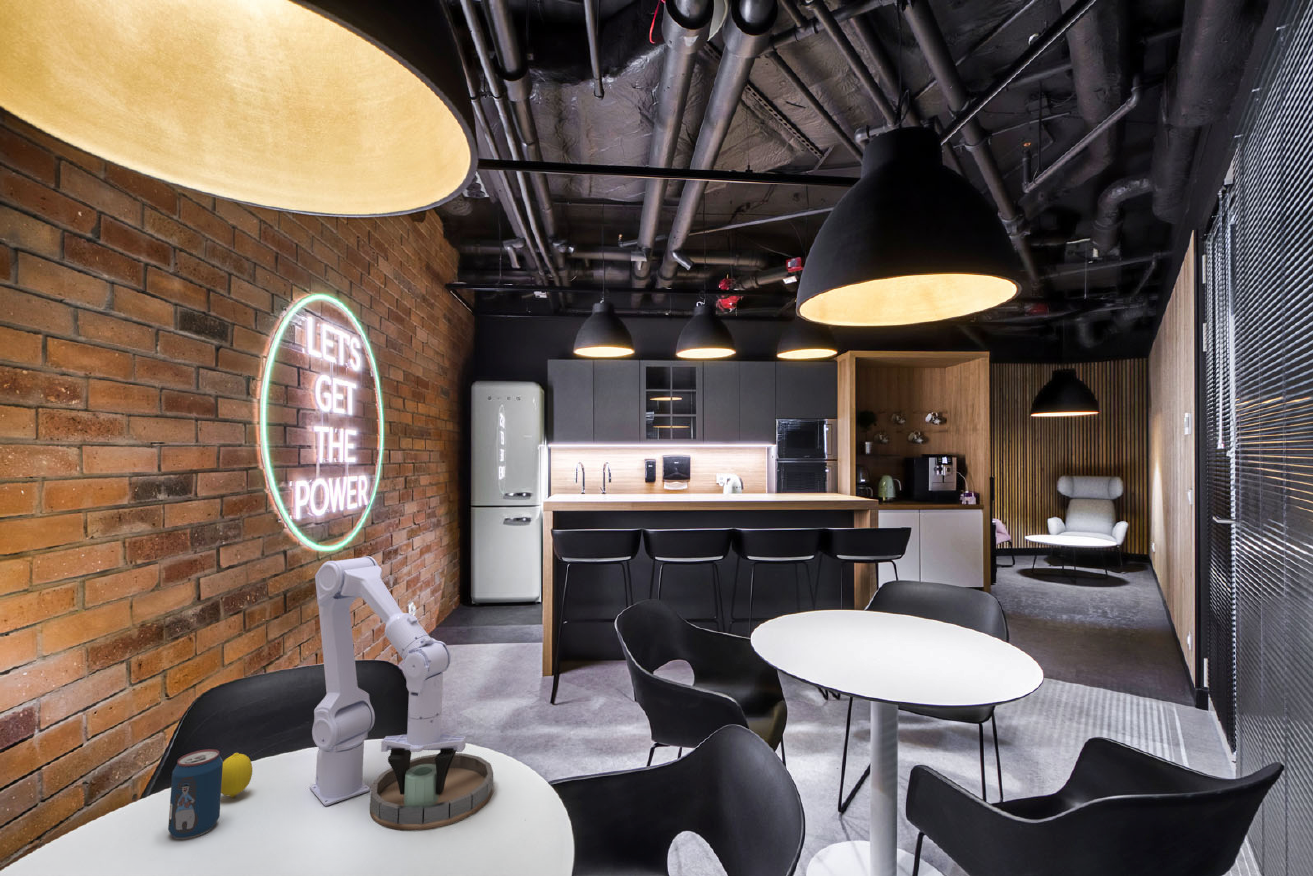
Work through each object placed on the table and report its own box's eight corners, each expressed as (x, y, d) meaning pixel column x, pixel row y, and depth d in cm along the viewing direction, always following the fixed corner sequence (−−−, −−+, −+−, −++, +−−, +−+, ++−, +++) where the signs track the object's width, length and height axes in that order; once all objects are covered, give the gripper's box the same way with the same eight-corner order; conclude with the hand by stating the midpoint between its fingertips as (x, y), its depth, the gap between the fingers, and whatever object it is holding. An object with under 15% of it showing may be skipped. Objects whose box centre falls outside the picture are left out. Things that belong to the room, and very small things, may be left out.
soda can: (215, 814, 106) (219, 744, 107) (222, 830, 101) (227, 756, 102) (165, 829, 101) (170, 756, 102) (170, 847, 96) (175, 770, 98)
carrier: (351, 797, 112) (352, 775, 112) (459, 760, 127) (459, 741, 128) (398, 846, 97) (399, 820, 97) (514, 798, 112) (514, 775, 113)
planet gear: (399, 800, 107) (400, 771, 107) (430, 789, 110) (431, 761, 111) (412, 812, 103) (413, 782, 103) (443, 800, 106) (444, 771, 107)
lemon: (208, 801, 110) (211, 756, 111) (238, 787, 116) (241, 744, 116) (227, 807, 108) (230, 762, 109) (257, 793, 113) (260, 749, 114)
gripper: (374, 721, 104) (371, 803, 103) (457, 722, 104) (455, 803, 103) (392, 707, 111) (388, 783, 110) (470, 707, 111) (467, 783, 110)
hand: (422, 791), depth 107 cm, fingers closed on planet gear, 6 cm apart
